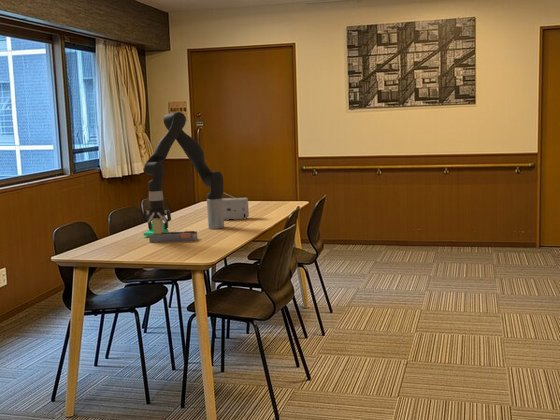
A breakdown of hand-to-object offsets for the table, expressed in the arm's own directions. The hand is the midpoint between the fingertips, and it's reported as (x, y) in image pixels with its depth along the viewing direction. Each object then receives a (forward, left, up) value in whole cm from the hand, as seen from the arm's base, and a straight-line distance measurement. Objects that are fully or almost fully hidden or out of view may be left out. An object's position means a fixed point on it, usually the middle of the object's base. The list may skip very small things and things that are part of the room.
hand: (158, 229), depth 360 cm
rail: (0, +8, -6) cm, 10 cm away
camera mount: (-15, -7, -7) cm, 17 cm away
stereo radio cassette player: (-70, +24, -6) cm, 74 cm away
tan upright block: (0, 0, -4) cm, 4 cm away
